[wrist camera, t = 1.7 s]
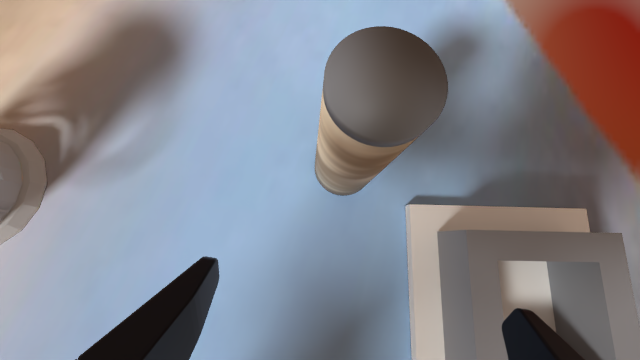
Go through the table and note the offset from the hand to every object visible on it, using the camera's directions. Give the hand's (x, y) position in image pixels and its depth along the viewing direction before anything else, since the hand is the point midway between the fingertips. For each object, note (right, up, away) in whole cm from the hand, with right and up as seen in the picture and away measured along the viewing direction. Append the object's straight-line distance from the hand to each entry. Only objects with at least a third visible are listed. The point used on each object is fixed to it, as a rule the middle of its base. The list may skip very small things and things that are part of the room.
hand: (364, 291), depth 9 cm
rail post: (+1, +4, +15) cm, 15 cm away
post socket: (+12, -6, +13) cm, 19 cm away
